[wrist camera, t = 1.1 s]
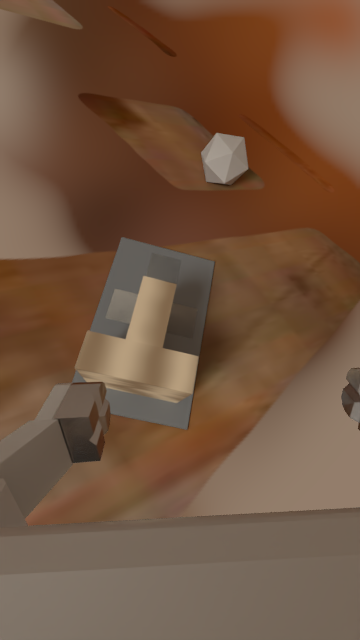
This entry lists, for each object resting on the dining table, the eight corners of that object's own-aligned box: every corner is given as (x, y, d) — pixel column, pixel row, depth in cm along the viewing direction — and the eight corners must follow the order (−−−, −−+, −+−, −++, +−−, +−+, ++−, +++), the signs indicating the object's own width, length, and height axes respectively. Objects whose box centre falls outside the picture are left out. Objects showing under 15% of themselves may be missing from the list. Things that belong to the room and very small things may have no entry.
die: (237, 169, 58) (225, 118, 51) (260, 179, 52) (250, 122, 45) (204, 190, 58) (187, 142, 51) (223, 202, 52) (207, 149, 45)
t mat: (65, 404, 35) (64, 403, 35) (121, 237, 46) (121, 237, 46) (186, 429, 36) (187, 429, 36) (214, 262, 47) (214, 261, 47)
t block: (88, 383, 36) (74, 367, 27) (113, 303, 41) (109, 266, 32) (176, 403, 37) (192, 393, 28) (191, 322, 42) (209, 292, 33)
